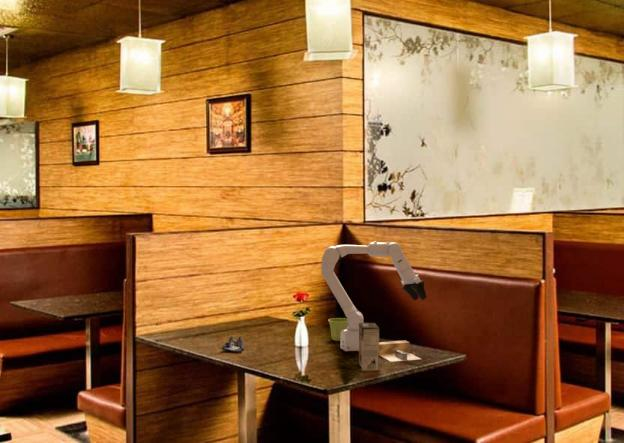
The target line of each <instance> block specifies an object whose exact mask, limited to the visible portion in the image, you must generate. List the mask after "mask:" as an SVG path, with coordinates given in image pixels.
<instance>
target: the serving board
mask: <svg viewBox="0 0 624 443" xmlns="http://www.w3.org/2000/svg"><path fill="white" fill-rule="evenodd" d="M379 357H382V358H383V359H385V360H388V361H389V362H391V363H392V362H403V361H416V360H422V358H420V357H418V356H416V355H414V354H413V353H410V352H407V359H404V360H402V359H400V358H398V357H396V356H395V353H394V354H381V355H379Z"/></svg>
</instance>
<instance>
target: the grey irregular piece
mask: <svg viewBox="0 0 624 443" xmlns="http://www.w3.org/2000/svg"><path fill="white" fill-rule="evenodd" d="M245 345H246V341H245V339H244V338H243V337H242V336H238V339H235V338H234V337H233V336H230V337H229V338H228V341H226V343H223V345H222V346H221V349H222V351H230V353H233V354H235V353H236V354H237V353H238V354H239V353H241V354H242V353H243V349H245Z"/></svg>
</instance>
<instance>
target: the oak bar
mask: <svg viewBox="0 0 624 443" xmlns="http://www.w3.org/2000/svg"><path fill="white" fill-rule="evenodd" d="M395 350H401V351H403V352H405V353H407V352H408V353H410V341H407V340H405V339H404V340H394V341H393V340H392V341H391V340H390V341H379V356H380V355H381V354H394V353H395Z"/></svg>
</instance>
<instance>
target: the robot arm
mask: <svg viewBox="0 0 624 443" xmlns="http://www.w3.org/2000/svg"><path fill="white" fill-rule="evenodd" d="M351 254H352V255H355V254H356V255H357V254H368V256H370V257H372V258H373V257H377V258H378V257H379V258H382V257H383V258H384V257H385V258H386V257H390V258H391V260H392V265H393V266H394V268H395V269H396V271H397V273H398V275H399V277H400V279H401V280H400V282H401V285H402V286H403V287H401V290H403V291H404V292H405V293H407V294H408V295H409V296H410V297H411V300H413V301H417V300H419V299H420V300H422V301H423V300H425V299H427V293H426V290H425V280H421V278H420V277H419V275H420V274H415V272H414V270H413V268H412V266H411V264H410V262H409V261H408V258H407V256H405V253H404V252H403V248H402V246H400V244H399V243H398V242H394V241H391V242H390V241H386V242H378V241H376V240H373V242H370V243H368V245H359V244H358V245H357V244H339V245H338V244H337V245H330V246H329V245H328V246H327V247H325V250H324V252H323V254H322V258H321V268H320V269H321V271H320V272H321V276H322V277H323V279H324V280H325V282H326V284H327V286H328V287H329V289H330V291H331V292H332V294H333V296H334V298H335V299H336V300H337V303H338V304H339V305H340V308H341V309H342V311H343V313H344V315H345V317H346V319H348V326H347V329H345V330H342V331H341V335H340V341H339V342H340V343H339V344H340V349H341V350H343V351H344V352H355V351H356V352H359V323H365V322H364V315H363V313H362V312H361V311H359V310H358V309H357V308H356V306H355V305H354V303H353V301H352V300H351V298H350V297H349V294H347V291H346V289H344V286H343V285H342V284H341V282H340V280H339V278H338V277H337V275H336V273H335V272H334V270H335V266H336V264H337V263H338V261H339V260H340V258H343V257H345V256H347V255H351Z"/></svg>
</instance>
